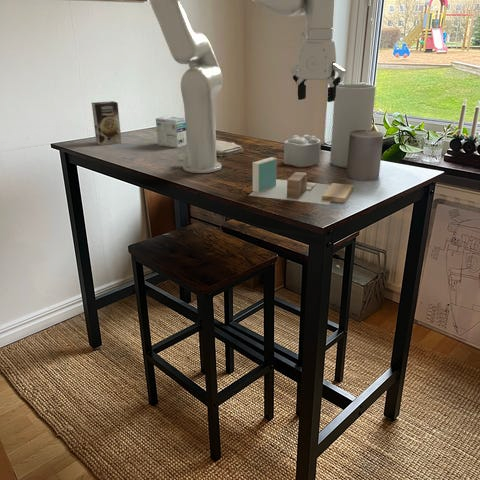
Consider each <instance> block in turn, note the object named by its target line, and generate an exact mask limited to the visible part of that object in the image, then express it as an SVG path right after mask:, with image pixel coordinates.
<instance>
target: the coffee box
mask: <svg viewBox="0 0 480 480" xmlns="http://www.w3.org/2000/svg"><path fill="white" fill-rule="evenodd" d="M91 108H92V116H93V124H94V125H93V127H94V133H95V141H96V143H97V144H98V145H99V146H105V145H113V144H114V145H115V144H122V143H123V141H122V133H121V123H120V113H119V105H118V102H116V101H100V102H99V101H97V102H91Z"/></svg>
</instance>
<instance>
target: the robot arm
mask: <svg viewBox="0 0 480 480" xmlns="http://www.w3.org/2000/svg"><path fill="white" fill-rule="evenodd" d="M251 1H252V2H254V3H256V4H258V5H259V6H262V7H264V8H266V9H268V10H270V11H272V12H275V13H276V14H279V15H280V16H284V17H291V18H297V17H300V16H305V25H304V26H305V27H304V28H305V29H304V31H302V32H301V37H302V38H304V41H302V42H301V46H300V50H299V56H298V64H297V65H295V66H294V67H292V68H290V73H291V75H292V79H293V80H294V82H295V84H296V86H297V100H298V101H302V100H305V99H306V98H307V97H306V95H307V92H306V91H307V85H306V84H305V83H306V82H307V81H308V80H311V81H312V80H313V81H326V82H327V84H328V87H327V96H326V97H327V98H326V101H327V102H328V103H332V102H334V100H335V98H336V86H338V85H340V83H341V82H342V81H343V79H344V77H345V75H346V73H347V71H346V69H344V68H342V67H341V66H340V65H338V64H337V53H336V45H335V41H334V40H333V37H334V36H333V35H334V34H333V33H334V32H333V31H334V16H335V15H334V12H335V0H251ZM149 3H150V6H151V8H152V11H153V12H154V15H155V18H156V20H157V21H158V22H157V23H158V24H159V27H160V30H161V32H162V35H163V37H164V39H165V42H166V45H167V47H168V49H169V52H170V55H171V57H172V58H173V60H174V61H175V62H176V63H178V64H179V65H188V67H189V68H188V69H186V71H185V72H184V73H183V75H182V77H181V80H180V92H181V96H182V102H183V109H184V118H185V125H186V142H187V145H186V154H183V153H179V154H178V155H177V161H179V162H184V164H183V166H182V169H183V170H184V171H185V172H189V173H192V174H206V173H207V174H208V173H214V172H217V171H219V170H221V169H222V163H221V162H219V161H217V155H216V140H217V135H216V132H217V129H216V109H215V103H214V98H213V96H214V95H216V94H218V93H219V92H220V90H222V87H223V83H224V77H223V73H222V70H221V67H220V65H219V61H218V60H217V57H216V54H215V52H214V50H213V49H214V48H213V47H212V45H211V43H210V40H209V39H208V37H207V36H206V35H205V34H204V33H203V32H201V31H197V30H193V29H192V26H191V23H190V21H189V19H188V16H187V13H186V11H185V9H184V7H183V6H182V5H181V3H180V1H179V0H149ZM336 73H338V74H337V77H335V76H336Z"/></svg>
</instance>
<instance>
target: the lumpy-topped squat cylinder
mask: <svg viewBox="0 0 480 480" xmlns="http://www.w3.org/2000/svg"><path fill="white" fill-rule="evenodd" d="M321 143H322V142H321V139H320V138H318V137H316V135H309V134H304V135H302V136H299V135H298V134H295V135H292V136H291V138H290V139H287V140H285V141H283V145H284V146H283V164H285V165H291V166H293V167H294V166H295V167H299V168H304V167H305V168H306V167H311V166H314V165H317V164H319V163H320V161H321V160H320V159H321Z"/></svg>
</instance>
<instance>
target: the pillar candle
mask: <svg viewBox="0 0 480 480" xmlns="http://www.w3.org/2000/svg"><path fill="white" fill-rule="evenodd" d="M384 135H385V133H383V132H381V131H378V130H372V129H371V130H367V129H366V130H356V131H352V132H350V138H349V150H348V160H347V168H346V174H345V176H346V178H347V179H350V180H353V181H357V182H358V181H359V182H372V181H373V182H374V181H377V180H378V179H379V178H380V172H381V171H380V170H381V162H382V161H381V160H382V159H381V158H382V151H383V143H384Z"/></svg>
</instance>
